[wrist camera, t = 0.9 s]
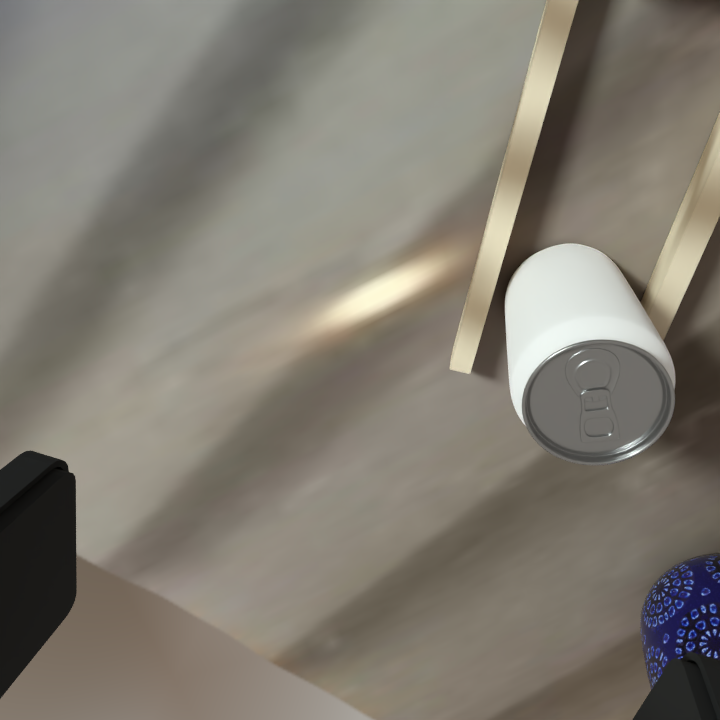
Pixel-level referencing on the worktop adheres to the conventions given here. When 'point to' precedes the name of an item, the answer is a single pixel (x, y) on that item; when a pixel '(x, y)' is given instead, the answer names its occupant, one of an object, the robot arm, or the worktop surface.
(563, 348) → the can
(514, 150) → the rail channel
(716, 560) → the planter
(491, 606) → the worktop surface
